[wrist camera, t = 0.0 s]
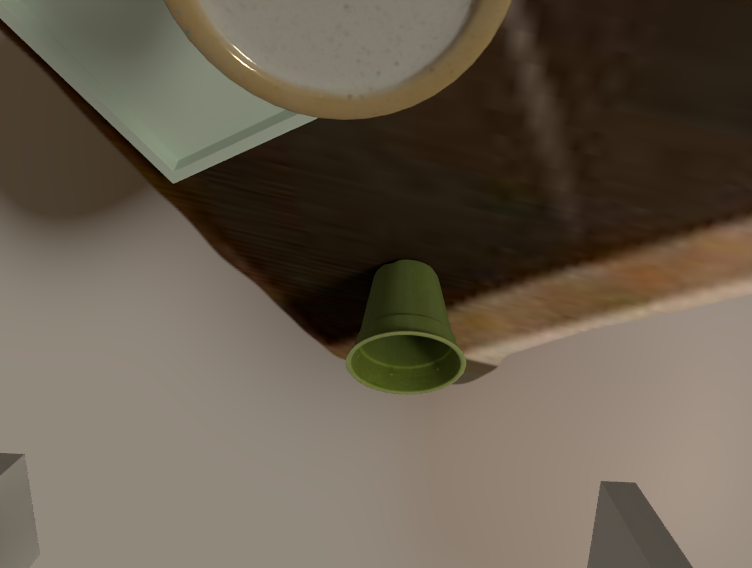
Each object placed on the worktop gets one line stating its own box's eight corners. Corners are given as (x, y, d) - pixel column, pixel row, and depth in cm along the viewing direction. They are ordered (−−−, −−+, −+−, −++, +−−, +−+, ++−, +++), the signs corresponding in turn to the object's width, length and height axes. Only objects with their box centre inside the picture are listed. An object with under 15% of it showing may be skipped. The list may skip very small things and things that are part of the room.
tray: (-16, -31, 39) (-34, -15, 37) (192, -199, 31) (180, -186, 30) (180, 165, 51) (173, 183, 50) (361, 80, 44) (359, 99, 42)
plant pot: (459, 308, 67) (464, 394, 60) (360, 310, 68) (353, 395, 61) (461, 240, 58) (467, 332, 51) (346, 244, 59) (337, 334, 52)
